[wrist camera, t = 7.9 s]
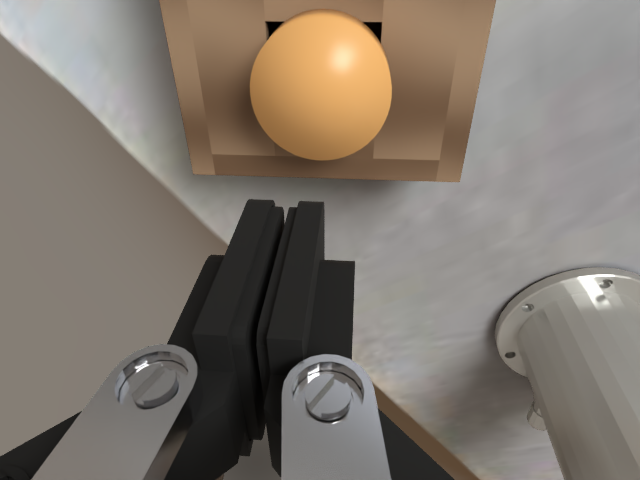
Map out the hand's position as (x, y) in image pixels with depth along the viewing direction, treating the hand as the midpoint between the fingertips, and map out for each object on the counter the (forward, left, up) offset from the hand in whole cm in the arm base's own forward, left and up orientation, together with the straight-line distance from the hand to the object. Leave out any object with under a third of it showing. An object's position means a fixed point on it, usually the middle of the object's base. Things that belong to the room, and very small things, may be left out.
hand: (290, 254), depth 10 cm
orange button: (0, 0, -17) cm, 17 cm away
